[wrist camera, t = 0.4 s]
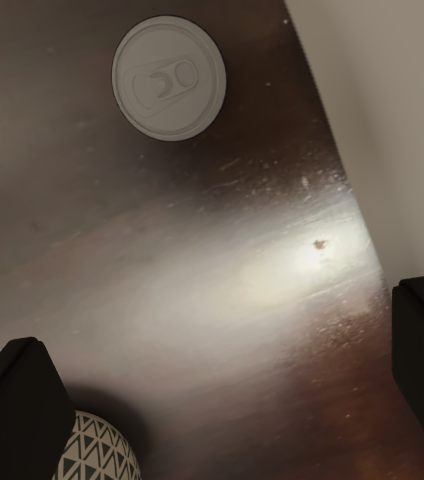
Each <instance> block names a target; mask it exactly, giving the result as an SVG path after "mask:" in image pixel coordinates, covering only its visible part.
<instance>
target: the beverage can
mask: <svg viewBox="0 0 424 480" xmlns="http://www.w3.org/2000/svg"><path fill="white" fill-rule="evenodd" d="M111 82H112V89H113V93H114V97H115V100H116V102H117V105H118V107H119V109H120V110H121V112H122V114H123V115H124V117H125V118H126V119H127V120H128V122H129V123H130V124H131V125H132V126H133V127H134V128H136V129H137V130H138V131H140V132H141V133H143V134H144V135H146V136H148V137H150V138H153V139H156V140H159V141H164V142H180V141H185V140H188V139H191V138H194V137H196V136H198V135H199V134H201V133H202V132H204V131H205V130H206V129H207V128H209V127H210V126H211V125H212V123H213V122H214V121H215V120H216V118H217V117H218V115H219V113H220V112H221V109H222V107H223V105H224V102H225V98H226V94H227V86H228V77H227V69H226V64H225V61H224V58H223V55H222V53H221V50H220V49H219V47H218V45H217V43H216V42H215V40H214V39H213V38H212V37H211V35H210V34H209V33H208V32H207V31H206V30H205V29H203V28H202V27H201V26H200V25H198V24H197V23H195V22H193V21H191V20H189V19H187V18H184V17H181V16H176V15H157V16H153V17H149V18H147V19H145V20H143V21H141V22H139V23H137V24H136V25H135V26H133V27H132V28H131V29H130V30H129V31H128V32H127V33H126V34H125V35H124V37H123V38H122V40H121V41H120V43H119V45H118V47H117V49H116V51H115V54H114V58H113V62H112V68H111Z"/></svg>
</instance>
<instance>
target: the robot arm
mask: <svg viewBox="0 0 424 480" xmlns="http://www.w3.org/2000/svg"><path fill="white" fill-rule="evenodd" d="M392 373H393V377H394V380H395V382H396V384H397V386H398V387H399V389H400V391H401V392H402V394H403V396H404V397H405V399H406V401H407V402H408V404H409V406H410V408H411V409H412V411H413V413H414V414H415V416H416V418H417V419H418V421H419V423H420V425H421V426H422V428H423V430H424V276H423V277H416V278H410V279H403V280H401V281H400V282H399V286H396V287H393V289H392ZM75 423H76V411H75V408H74V406H73V404H72V402H71V400H70V398H69V396H68V394H67V391H66V389H65V387H64V385H63V383H62V381H61V379H60V377H59V375H58V372H57V370H56V368H55V366H54V364H53V362H52V360H51V358H50V356H49V354H48V351H47V349H46V347H45V345H44V344H43V342H41V341H38V340H37V339H36V338H35V337H26V338H20V339H13V340H10V341H9V342H8V343H7V344H6V346H5V347H4V348H3V349H2V351H1V352H0V480H52V479H53V476H54V474H55V472H56V469H57V467H58V464H59V462H60V460H61V457H62V455H63V452H64V450H65V448H66V445H67V443H68V440H69V438H70V436H71V433H72V431H73V428H74V426H75Z"/></svg>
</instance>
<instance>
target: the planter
mask: <svg viewBox="0 0 424 480" xmlns="http://www.w3.org/2000/svg"><path fill="white" fill-rule="evenodd" d="M75 411H76V423H75V426H74V428H73V431H72V433H71V436H70V438H69V440H68V443H67V445H66V448H65V450H64V452H63V455H62V457H61V460H60V462H59V464H58V467H57V469H56V472H55V474H54V476H53V479H52V480H142V478H141V473H140V468H139V465H138V462H137V459H136V457H135V454H134V452H133V450H132V449H131V447H130V445H129V444H128V442H127V441H126V439H125V438H124V437H123V436H122V434H121V433H120V432H119V431H118V430H117V429H116V428H115V427H113V426H112V425H111V424H110V423H108V422H107V421H105V420H104V419H102V418H100V417H98V416H96V415H93V414H90V413H87V412H83V411H77V410H75Z"/></svg>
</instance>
